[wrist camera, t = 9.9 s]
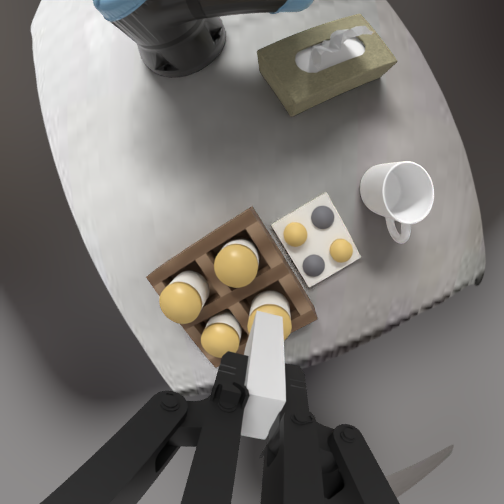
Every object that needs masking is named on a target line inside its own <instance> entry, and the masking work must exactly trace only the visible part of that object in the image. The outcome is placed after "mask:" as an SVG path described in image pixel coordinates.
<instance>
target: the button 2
mask: <svg viewBox="0 0 504 504" xmlns="http://www.w3.org/2000/svg"><path fill="white" fill-rule="evenodd" d="M242 328H243V327H242V326H241V324H240V323H239V322H238V320H237V319H236V318H235V316H234V315H233V313H232V312H231V311H230V310H229V309H224V310H223V311H221V312H219V313H217V314H215V315H213V316H211V317H210V318H209V320H208V322H207V325H206V327H205V329H204V331H203V334H202V336H201V344H202V346H203V348H204V350H205V351H206V352H207V353H209V354H210V355H212V356H214V357H218V358H222V356H223V355H224V354H225V353H226V352H228V351H230V352H234V353H236V351H237V350H238V347H239V342H240V338H241V333H242Z"/></svg>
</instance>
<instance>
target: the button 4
mask: <svg viewBox="0 0 504 504" xmlns="http://www.w3.org/2000/svg"><path fill="white" fill-rule="evenodd" d="M256 311H261V312H265V313H269V314H273V315H277V316H281V317H283V336H284V340H286V339H287V337H288V336H289V335H290V332H291V328H292V325H291V316H290V307H289V302H288V300H287V299H286V297H285V296H284V295H283V294H281V293H279V292H277V291H271V290H269V291H264V292H261V293H259V294H258V295H257V296H256V297H255V298H254V299H253V301H252V303H251V308H250V314H249V319H248V325H247V328H248V332H249V334H250V331H251V328H252V324H253V321H254V318H255V314H256Z"/></svg>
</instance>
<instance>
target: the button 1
mask: <svg viewBox="0 0 504 504" xmlns="http://www.w3.org/2000/svg"><path fill="white" fill-rule="evenodd" d="M208 296H209V285H208V282H207V281H206V279H205V278H204V277H203V276H202V275H201V274H199V273H197V272H194V271H184V272H181V273H180V274H178V275H177V276H176V277H175V278H174V279H173V281H172V282H171V283H170V284H169V285H168V286H167V287H166V288H165V289H164V290H163V291H162V293H161V295H160V299H159V302H160V307H161V310H162V312H163V313H164V314H165V316H166V317H167V318H169V319H170V320H172V321H174V322H176V323H180V324H187V323H190V322H192V321H194V320H195V319H196V318H197V317H198V315H199V313H200V311H201V309H202V308H203V306H204V304H205V302H206V300H207V298H208Z"/></svg>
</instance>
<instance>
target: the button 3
mask: <svg viewBox="0 0 504 504" xmlns="http://www.w3.org/2000/svg"><path fill="white" fill-rule="evenodd" d="M259 259H260V253H259V249H258V247H257V246H256V244H255V243H254V242H253V241H252V240H250V239H248V238H245V237H235V238H232V239H230V240H229V241H228V242H227V243H226V244H225V245H224V247H223V248H222V249H221V251H220V252H219V253H218V255H217V256H216V258H215V262H214V270H215V273H216V276H217V277H218V279H219V280H220V281H221V282H222V283H224V284H225V285H227V286H230V287H234V288H240V287H244V286H246V285H248V284H250V283H251V282H252V281H253V280H254V278H255V277H256V274H257V270H258V265H259Z"/></svg>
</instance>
